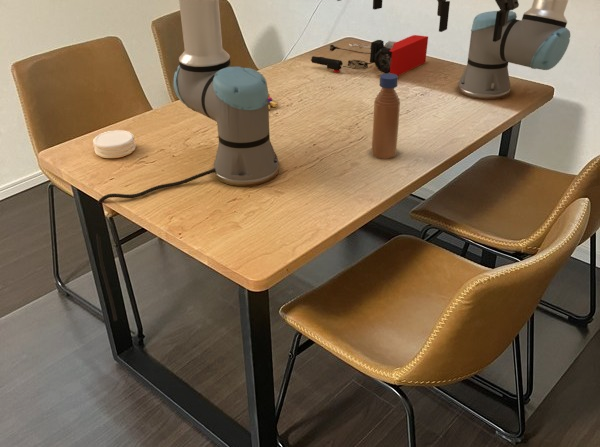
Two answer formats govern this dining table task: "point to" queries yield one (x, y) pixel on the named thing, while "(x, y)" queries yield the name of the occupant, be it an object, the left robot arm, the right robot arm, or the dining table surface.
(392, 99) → the bottle
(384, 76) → the cap
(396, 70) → the electric hoist
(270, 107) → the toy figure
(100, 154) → the coaster
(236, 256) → the dining table surface
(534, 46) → the right robot arm
